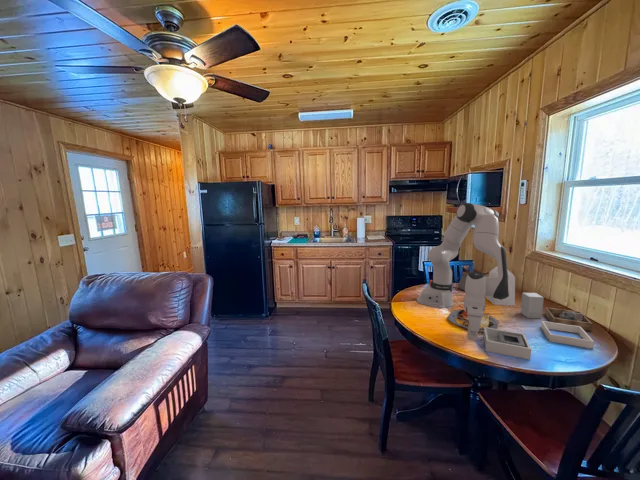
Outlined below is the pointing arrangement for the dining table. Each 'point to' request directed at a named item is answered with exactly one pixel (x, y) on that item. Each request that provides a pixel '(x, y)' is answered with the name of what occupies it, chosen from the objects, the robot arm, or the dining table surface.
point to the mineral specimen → (572, 316)
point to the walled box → (504, 348)
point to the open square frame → (583, 342)
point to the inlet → (510, 339)
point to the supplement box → (532, 305)
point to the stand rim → (556, 312)
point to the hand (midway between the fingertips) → (472, 332)
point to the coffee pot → (462, 281)
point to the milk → (511, 278)
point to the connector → (472, 335)
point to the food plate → (485, 320)
